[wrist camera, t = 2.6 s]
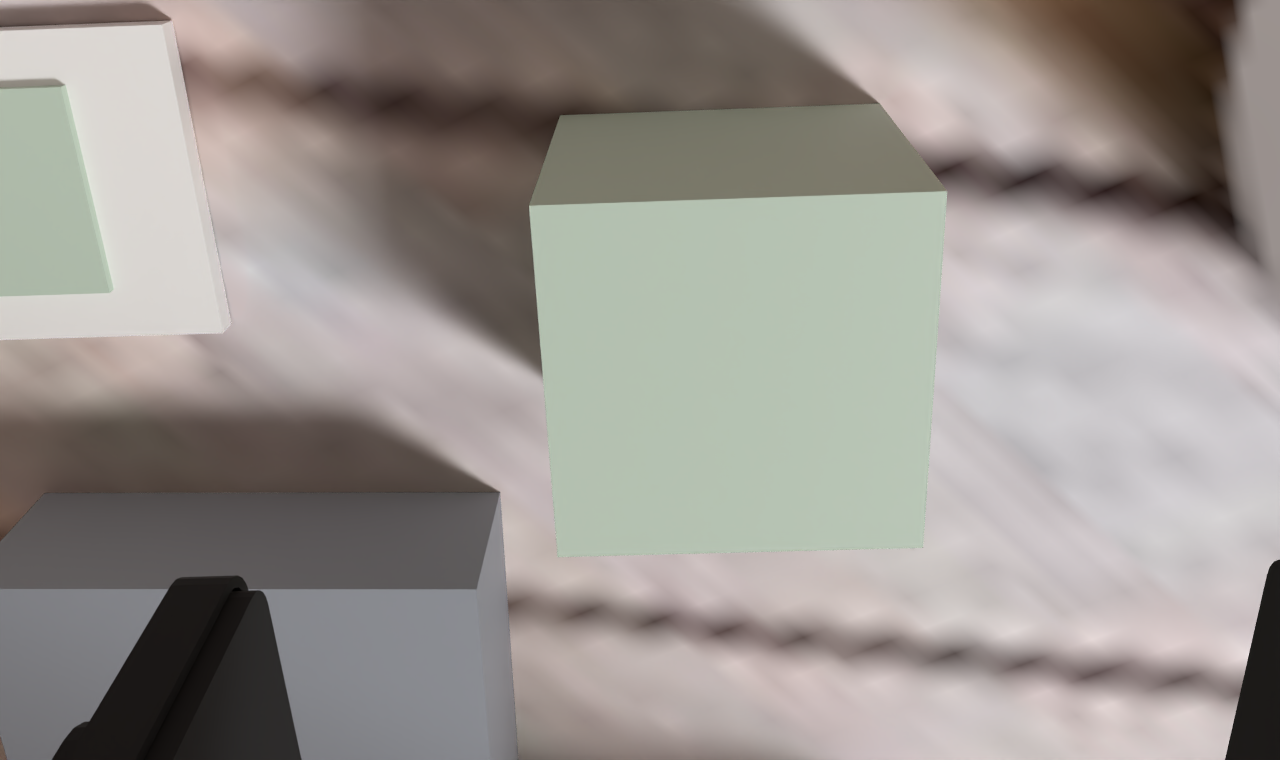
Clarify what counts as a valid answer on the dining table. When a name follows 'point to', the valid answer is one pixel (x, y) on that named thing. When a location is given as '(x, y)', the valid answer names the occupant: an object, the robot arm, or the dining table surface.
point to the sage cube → (737, 329)
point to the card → (102, 187)
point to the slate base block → (274, 612)
